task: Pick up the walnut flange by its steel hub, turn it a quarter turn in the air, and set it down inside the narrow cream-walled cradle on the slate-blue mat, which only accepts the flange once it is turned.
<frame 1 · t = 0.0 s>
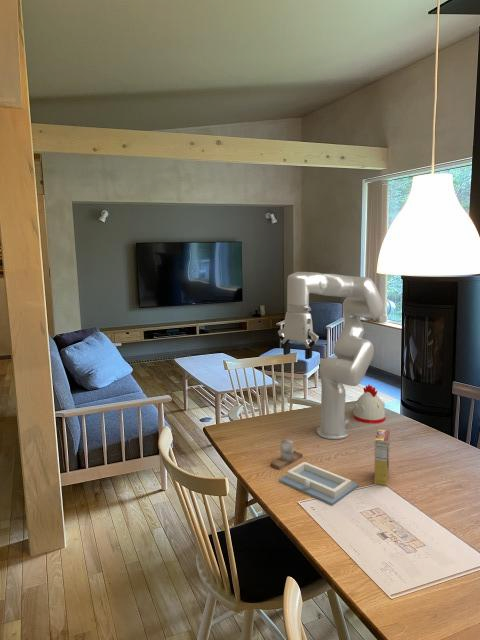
hand: (297, 356, 164), 37 cm above the table, tool pointing down, fingers open, 9 cm apart
kitchen timer: (369, 418, 203), on the table
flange: (286, 462, 163), on the table
candy box: (381, 479, 150), on the table
cradle: (318, 483, 147), on the table
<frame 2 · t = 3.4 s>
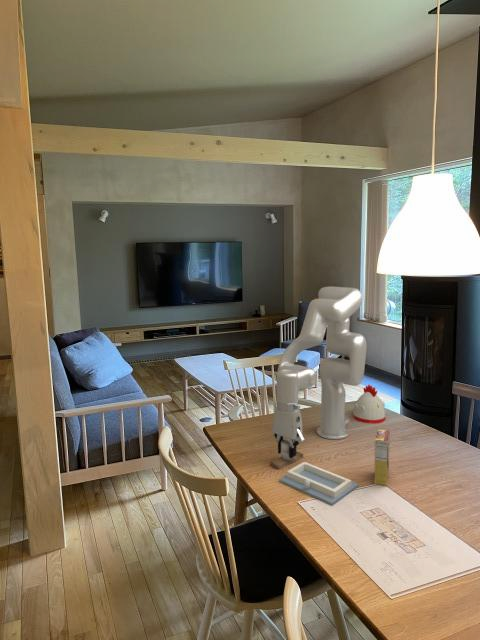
hand: (287, 453, 162), 3 cm above the table, tool pointing down, fingers closed on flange, 4 cm apart
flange: (287, 461, 163), on the table, touching gripper
everything else where it was.
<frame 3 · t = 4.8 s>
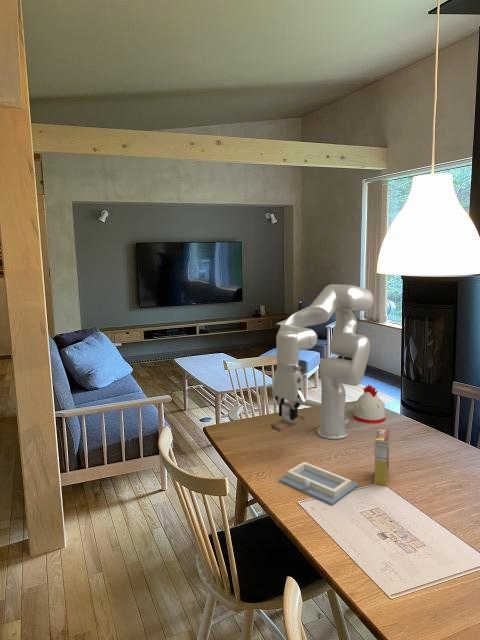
hand: (288, 416, 160), 17 cm above the table, tool pointing down, fingers closed on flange, 4 cm apart
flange: (288, 424, 161), point 14 cm above the table, touching gripper
everything else where it was.
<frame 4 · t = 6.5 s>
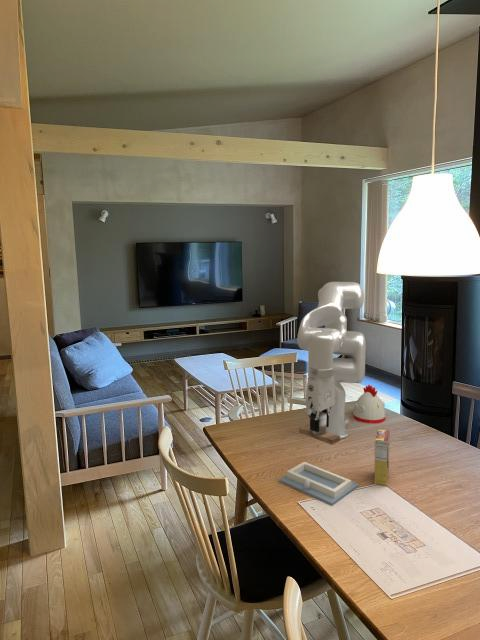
hand: (319, 427, 144), 19 cm above the table, tool pointing down, fingers closed on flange, 4 cm apart
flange: (319, 436, 145), point 16 cm above the table, touching gripper
everything else where it was.
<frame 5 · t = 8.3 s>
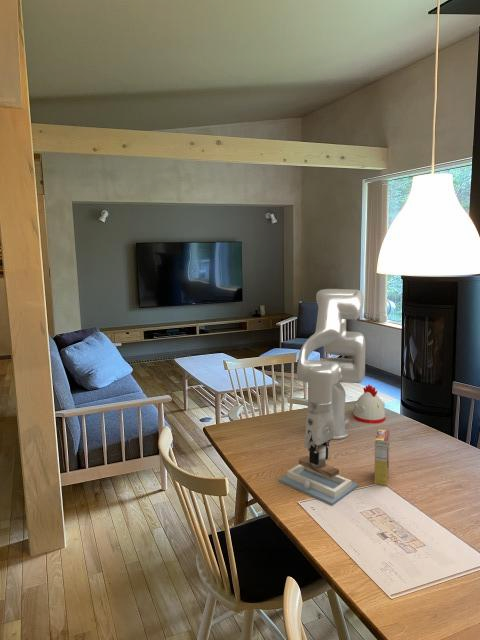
hand: (318, 460, 146), 8 cm above the table, tool pointing down, fingers closed on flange, 4 cm apart
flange: (318, 468, 146), point 5 cm above the table, touching gripper
everything else where it was.
when the fingers open (5 cm above the table, at t = 9.8 s): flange stays where it is, resting on cradle.
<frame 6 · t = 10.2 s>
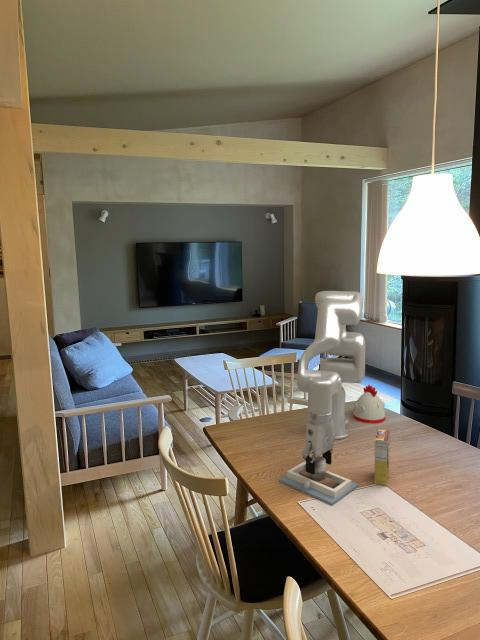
hand: (318, 467, 146), 6 cm above the table, tool pointing down, fingers open, 8 cm apart
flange: (318, 481, 147), point 1 cm above the table, touching cradle
everything else where it was.
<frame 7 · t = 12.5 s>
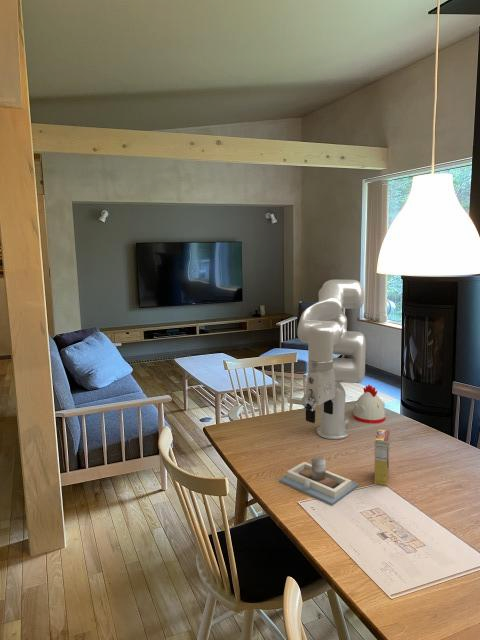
hand: (319, 417, 144), 22 cm above the table, tool pointing down, fingers open, 9 cm apart
nothing on the table moved.
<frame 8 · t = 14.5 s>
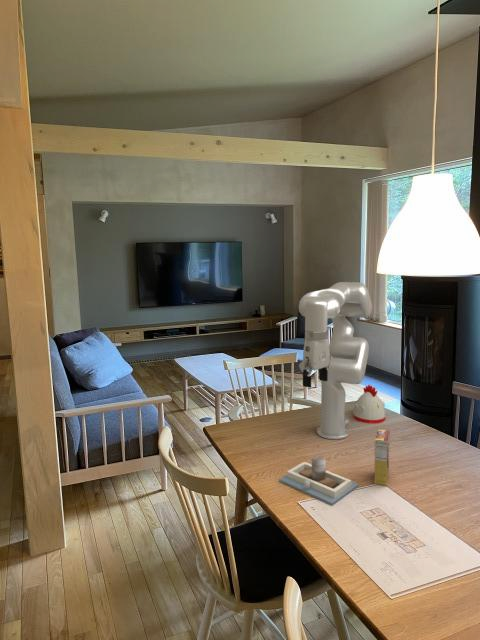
hand: (315, 383, 159), 28 cm above the table, tool pointing down, fingers open, 9 cm apart
nothing on the table moved.
at the end: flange 0.1 cm off-centre on the cradle, point 0.8 cm above the cradle's base; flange tilted 0°; the gripper is holding nothing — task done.
